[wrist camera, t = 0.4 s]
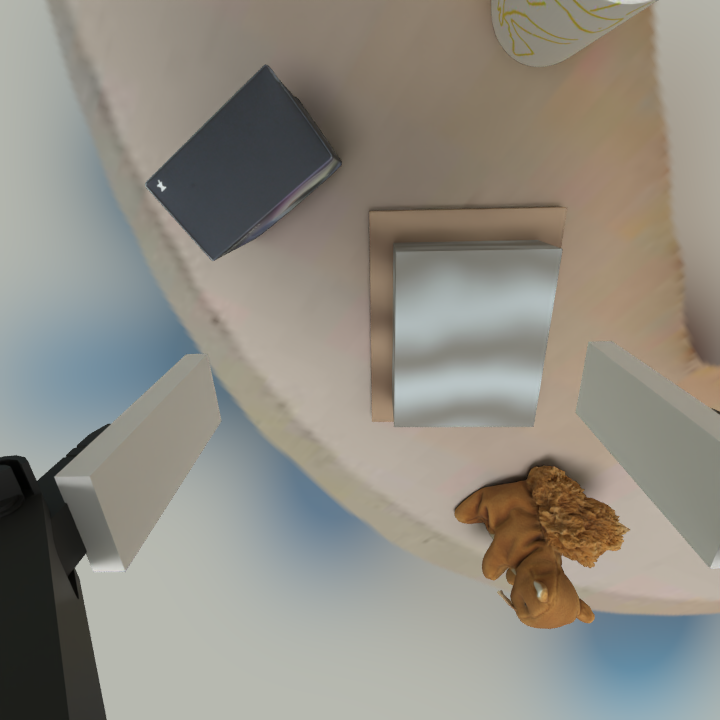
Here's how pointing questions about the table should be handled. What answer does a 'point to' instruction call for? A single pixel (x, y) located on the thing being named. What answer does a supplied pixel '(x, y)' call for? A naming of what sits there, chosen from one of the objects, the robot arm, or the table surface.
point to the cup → (556, 26)
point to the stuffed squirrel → (542, 541)
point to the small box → (244, 167)
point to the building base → (461, 313)
